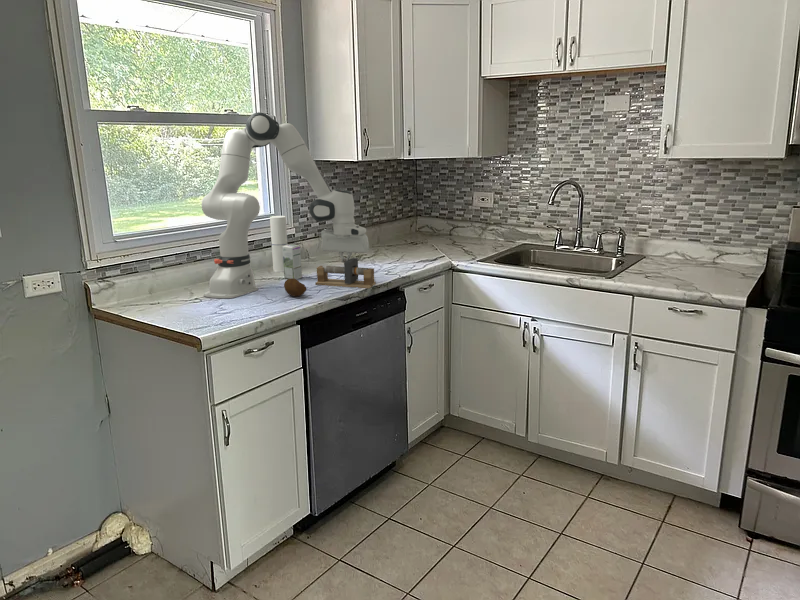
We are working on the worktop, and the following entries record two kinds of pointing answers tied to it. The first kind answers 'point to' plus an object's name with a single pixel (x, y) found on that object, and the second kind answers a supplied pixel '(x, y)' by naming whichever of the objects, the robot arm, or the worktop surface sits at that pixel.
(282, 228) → the cylindrical container
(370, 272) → the pipe rig
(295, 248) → the syrup box
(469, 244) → the worktop surface
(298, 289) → the potato
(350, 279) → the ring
